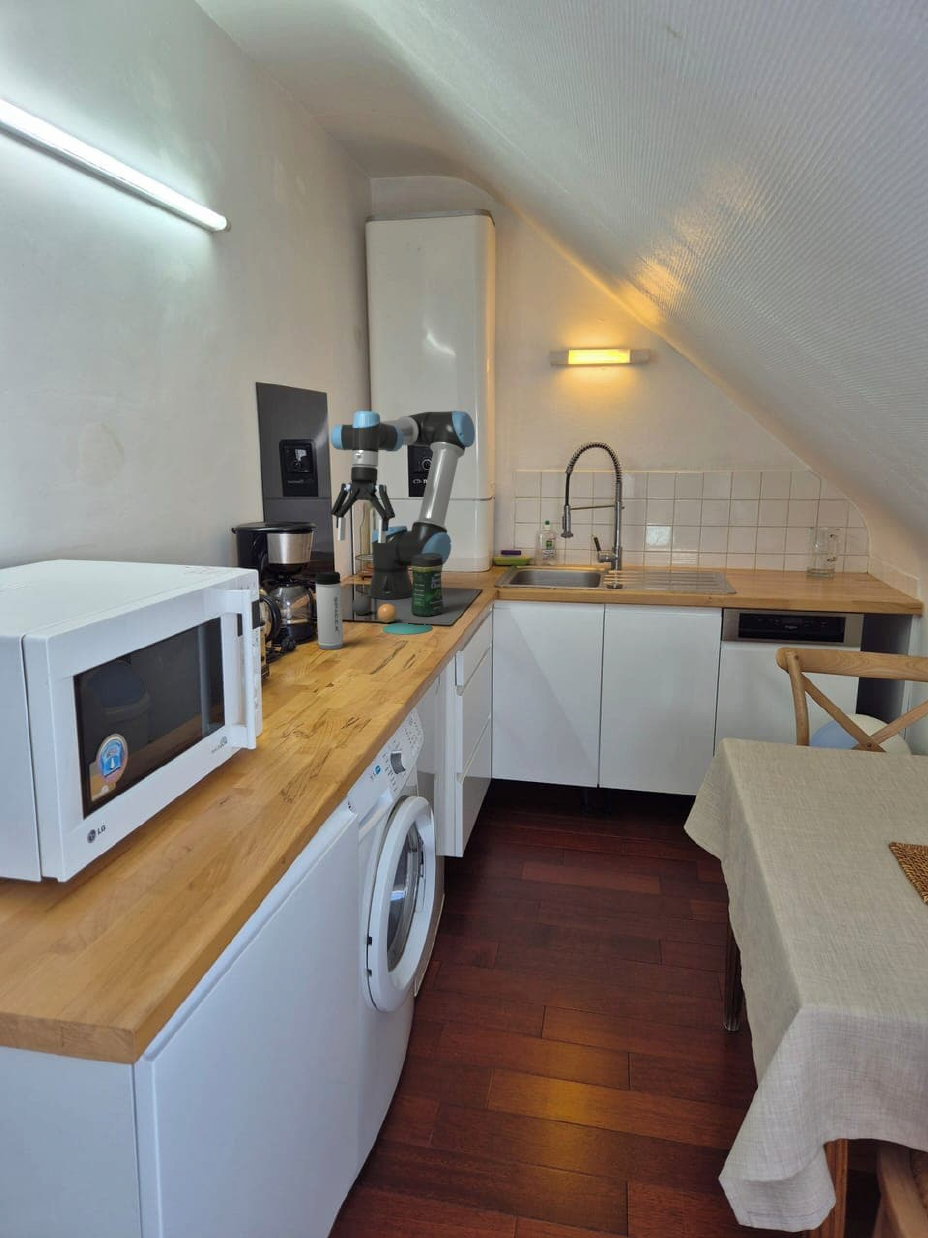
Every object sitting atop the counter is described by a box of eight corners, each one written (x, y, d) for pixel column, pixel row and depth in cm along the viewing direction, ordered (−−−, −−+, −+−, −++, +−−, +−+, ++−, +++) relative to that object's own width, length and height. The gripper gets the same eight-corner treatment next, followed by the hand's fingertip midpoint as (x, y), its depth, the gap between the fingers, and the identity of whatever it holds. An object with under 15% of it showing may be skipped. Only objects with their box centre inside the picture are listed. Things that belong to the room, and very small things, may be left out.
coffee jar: (427, 618, 243) (426, 556, 239) (407, 615, 248) (405, 553, 244) (448, 612, 251) (447, 552, 247) (428, 609, 256) (427, 550, 252)
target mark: (410, 620, 240) (410, 620, 240) (442, 628, 231) (442, 627, 230) (372, 628, 231) (372, 627, 231) (404, 637, 221) (404, 636, 221)
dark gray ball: (363, 612, 253) (362, 594, 251) (374, 614, 249) (373, 596, 248) (348, 614, 249) (348, 596, 248) (359, 617, 245) (359, 599, 244)
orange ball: (388, 619, 242) (388, 601, 241) (400, 622, 238) (400, 603, 237) (374, 622, 238) (373, 603, 237) (386, 625, 234) (385, 606, 233)
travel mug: (318, 644, 214) (314, 568, 210) (344, 643, 215) (341, 567, 210) (316, 650, 208) (312, 572, 204) (342, 649, 208) (339, 571, 204)
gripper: (320, 465, 237) (317, 538, 239) (396, 466, 227) (392, 543, 229) (335, 467, 244) (332, 539, 246) (409, 469, 234) (405, 544, 236)
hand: (361, 541), depth 238 cm, fingers open, 13 cm apart
